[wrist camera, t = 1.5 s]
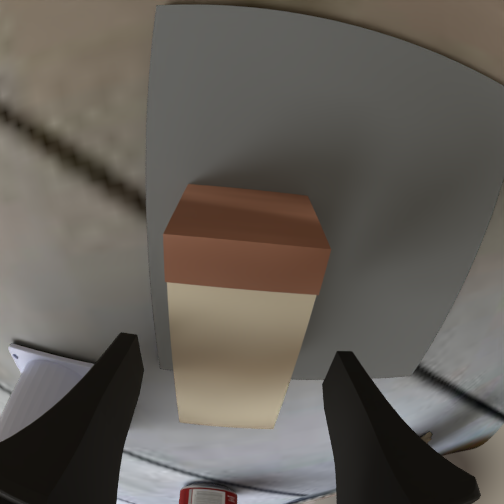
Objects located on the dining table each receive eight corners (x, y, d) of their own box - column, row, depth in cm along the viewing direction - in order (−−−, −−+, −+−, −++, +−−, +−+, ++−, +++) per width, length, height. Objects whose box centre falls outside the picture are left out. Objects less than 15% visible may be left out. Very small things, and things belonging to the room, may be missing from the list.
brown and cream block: (270, 367, 18) (274, 429, 14) (188, 360, 17) (178, 423, 14) (307, 195, 12) (331, 249, 9) (188, 184, 12) (163, 233, 9)
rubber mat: (408, 370, 19) (411, 375, 19) (161, 362, 18) (159, 368, 18) (515, 95, 10) (522, 96, 10) (160, 7, 9) (156, 5, 9)
